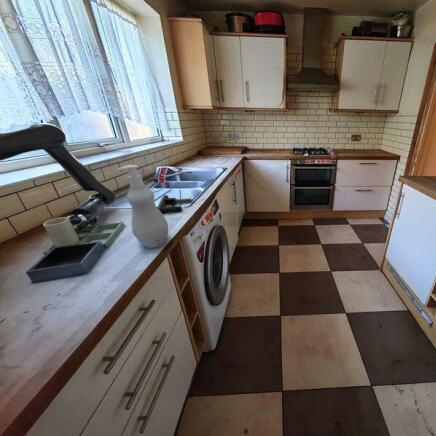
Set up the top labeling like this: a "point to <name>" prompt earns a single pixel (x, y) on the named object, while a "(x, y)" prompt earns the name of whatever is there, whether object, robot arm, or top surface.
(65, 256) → the black tray
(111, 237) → the green divided tray
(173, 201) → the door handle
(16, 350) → the top surface
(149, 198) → the soap bottle
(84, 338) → the top surface
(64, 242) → the cup
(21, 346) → the top surface
